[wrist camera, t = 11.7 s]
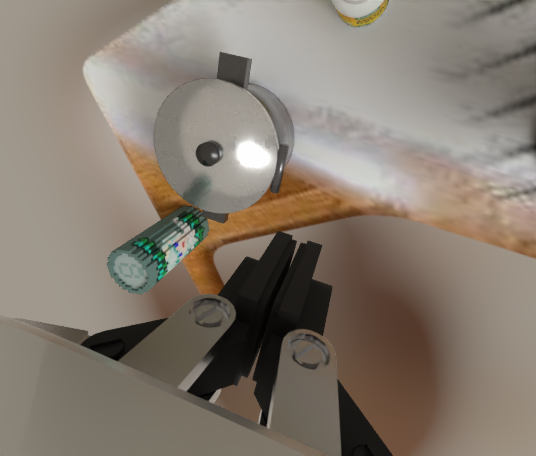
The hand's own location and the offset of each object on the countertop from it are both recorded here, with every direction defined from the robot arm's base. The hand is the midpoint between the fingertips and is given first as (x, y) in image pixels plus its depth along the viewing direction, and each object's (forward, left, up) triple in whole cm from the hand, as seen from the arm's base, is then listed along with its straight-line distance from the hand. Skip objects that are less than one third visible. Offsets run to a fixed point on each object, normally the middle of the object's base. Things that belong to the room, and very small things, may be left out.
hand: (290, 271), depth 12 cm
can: (+20, +19, -31) cm, 42 cm away
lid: (+13, +3, -22) cm, 25 cm away
